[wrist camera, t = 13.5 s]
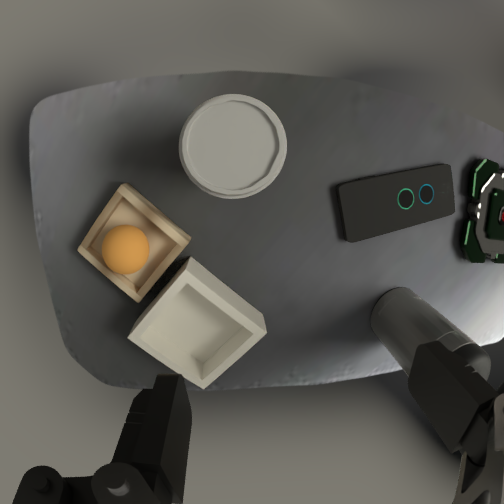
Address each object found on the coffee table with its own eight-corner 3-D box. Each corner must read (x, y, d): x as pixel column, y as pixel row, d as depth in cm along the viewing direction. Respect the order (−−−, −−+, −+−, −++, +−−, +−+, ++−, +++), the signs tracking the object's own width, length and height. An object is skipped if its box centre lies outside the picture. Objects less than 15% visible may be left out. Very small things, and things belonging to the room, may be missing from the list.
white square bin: (262, 314, 42) (267, 332, 37) (205, 368, 44) (203, 389, 39) (190, 256, 39) (185, 269, 34) (136, 319, 41) (127, 337, 36)
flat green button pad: (517, 173, 39) (533, 176, 35) (505, 259, 44) (519, 266, 40) (465, 153, 38) (484, 154, 33) (452, 257, 43) (468, 266, 38)
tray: (191, 237, 38) (188, 242, 35) (143, 295, 40) (138, 303, 37) (128, 182, 35) (121, 184, 33) (84, 245, 37) (76, 250, 34)
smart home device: (455, 214, 39) (348, 245, 39) (449, 212, 40) (343, 242, 40) (451, 162, 36) (338, 184, 36) (444, 162, 38) (333, 183, 38)
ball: (163, 241, 37) (151, 255, 31) (137, 273, 38) (123, 292, 32) (129, 210, 35) (111, 219, 30) (104, 245, 36) (85, 258, 31)
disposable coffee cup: (223, 204, 37) (221, 222, 26) (177, 144, 34) (154, 135, 23) (285, 159, 36) (311, 158, 25) (240, 99, 33) (246, 70, 22)
